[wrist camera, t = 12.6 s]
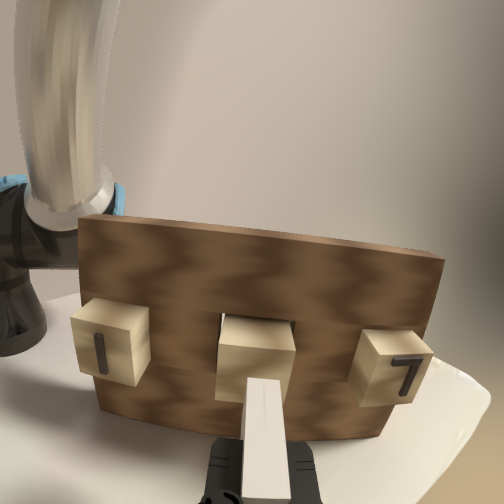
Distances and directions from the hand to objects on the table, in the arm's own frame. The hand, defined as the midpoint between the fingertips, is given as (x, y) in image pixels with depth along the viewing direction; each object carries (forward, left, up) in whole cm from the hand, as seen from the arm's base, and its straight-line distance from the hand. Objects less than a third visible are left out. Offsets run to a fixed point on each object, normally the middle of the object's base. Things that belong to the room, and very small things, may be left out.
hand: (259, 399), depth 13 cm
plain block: (+3, +9, -5) cm, 11 cm away
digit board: (+4, +10, -14) cm, 17 cm away
